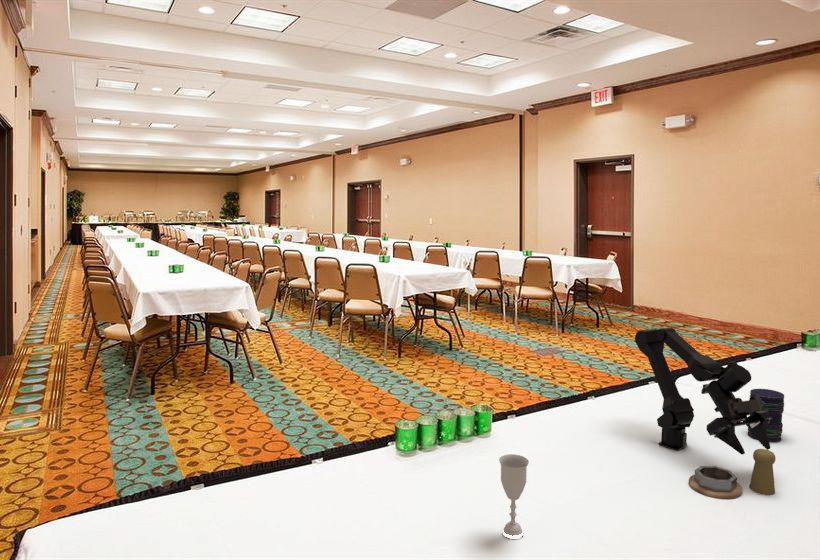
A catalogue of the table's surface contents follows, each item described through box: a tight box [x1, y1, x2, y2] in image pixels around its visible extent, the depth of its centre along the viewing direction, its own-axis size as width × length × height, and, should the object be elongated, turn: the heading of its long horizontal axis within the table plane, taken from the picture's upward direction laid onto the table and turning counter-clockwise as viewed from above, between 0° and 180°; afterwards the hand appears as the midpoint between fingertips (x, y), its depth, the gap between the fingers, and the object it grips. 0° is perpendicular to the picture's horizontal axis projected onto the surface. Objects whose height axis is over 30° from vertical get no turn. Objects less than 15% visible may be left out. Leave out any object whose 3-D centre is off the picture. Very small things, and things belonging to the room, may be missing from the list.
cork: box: [748, 448, 777, 496], centre depth 161 cm, size 6×6×11 cm
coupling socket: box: [688, 465, 743, 500], centre depth 163 cm, size 13×13×4 cm
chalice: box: [498, 453, 530, 536], centre depth 140 cm, size 7×7×18 cm
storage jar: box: [747, 388, 785, 444], centre depth 197 cm, size 10×10×15 cm
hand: (756, 451), depth 163 cm, fingers open, 9 cm apart
